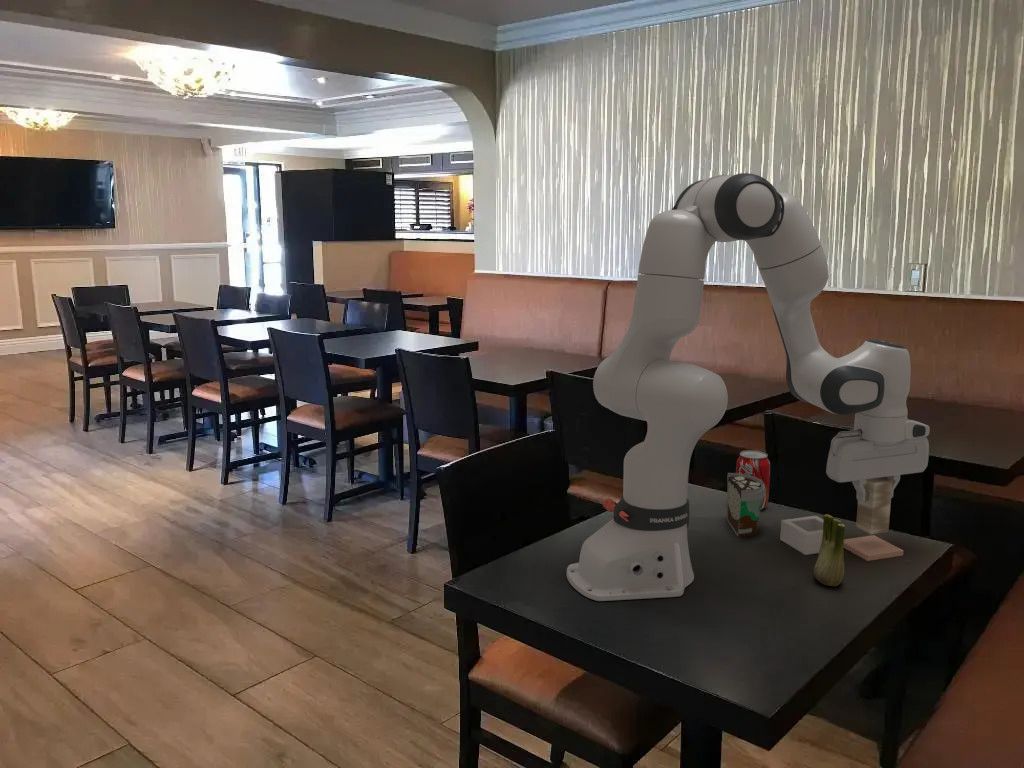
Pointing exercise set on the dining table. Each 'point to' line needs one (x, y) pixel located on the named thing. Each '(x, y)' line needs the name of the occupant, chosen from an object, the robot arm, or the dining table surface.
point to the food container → (744, 503)
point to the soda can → (755, 469)
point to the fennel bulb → (831, 553)
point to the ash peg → (875, 506)
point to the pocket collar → (803, 533)
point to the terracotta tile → (871, 548)
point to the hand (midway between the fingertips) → (874, 498)
